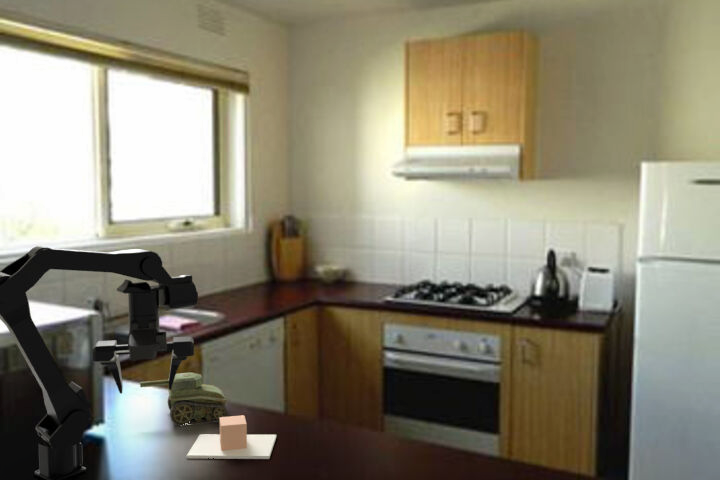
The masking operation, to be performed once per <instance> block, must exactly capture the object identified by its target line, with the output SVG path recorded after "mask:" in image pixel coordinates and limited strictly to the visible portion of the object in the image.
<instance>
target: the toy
mask: <svg viewBox="0 0 720 480" xmlns="http://www.w3.org/2000/svg"><path fill="white" fill-rule="evenodd" d="M159 386H169V377H168V379H158V380H148V381H140V383H139V387H140V388H148V387H149V388H150V387H159ZM167 389H168V398H167V407H168V410H169V415H170V419H171V421H172V423H173V424H174V425H176V426H179V427H181V426H180V425H183V424H184V425H185V423H188V424H194V425H200V423H203V424H211V423H210V422H212V423H220V419H219V417H229V416H228V415H229V411H228V409H227V407H226V403H227V398H226V397H225V395H224V393H223V390H222V389H221V388H219V387H217V386H216V385H212V384H208V383H207V384H205V383H203V377H202V374H200V373H195V372H192V371H191V372H181V373H176V375H175V378H174V381H173V385H172V388H171V390H169V387H168V388H167ZM202 418H203V419H202ZM193 419H194V420H193ZM189 421H190V423H189ZM186 426H188V425H187V424H186Z"/></svg>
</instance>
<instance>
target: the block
mask: <svg viewBox="0 0 720 480" xmlns="http://www.w3.org/2000/svg"><path fill="white" fill-rule="evenodd" d="M219 419H220V422H219V434H220V446H221V451H222V450H232V449H243V448H247V434H248V433H247V432H248V430H247V428H248V427H247V426H248V425H247V421H246V417H245V414H244V415H243V414H242V415H232V416H228V417H219Z"/></svg>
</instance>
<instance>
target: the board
mask: <svg viewBox="0 0 720 480" xmlns="http://www.w3.org/2000/svg"><path fill="white" fill-rule="evenodd" d="M276 439H277V434H248V433H247V448H243V449H232V450H222V451H221V446H220V433H219V434H215V433H213V434H211V433H207V434H206V433H205V434H203V433H202V434H201V433H200V434H199V435H198V437H197V438H196V440H195V441H194V443H193V445H192V446H191V448H190V450H189V451H188V452H187V454H186V459H208V458H209V460H210V459H213V458H214V459H220V460H221V459H226V460H227V459H228V460H229V459H230V460H231V459H232V460H233V459H237V460H241V459H242V460H252V459H253V460H270V458H271V454H272V452H273V448H274V447H275V442H276Z"/></svg>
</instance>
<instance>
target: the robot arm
mask: <svg viewBox="0 0 720 480" xmlns="http://www.w3.org/2000/svg"><path fill="white" fill-rule="evenodd" d="M50 270H58V271H59V270H60V271H61V270H62V271H77V272H79V271H80V272H81V271H82V272H93V273H94V272H95V273H113V274H116V275H117V274H118V275H121V276H125V277H129V278H134V279H138V280H142V281H141V282H140V281H139V282H133V281H131V280H130V279H124V281H123V282H122V283H121V284H120V285H119V286H118V287H117V288H116V291H117V292H119V293H121V294H127V299H128V307H127V308H128V334H127V344H118V342H117V340H115V339H114V340H99V341H97V342H96V343H95V344H94V347H93V348H92V362H95V363H97V362H100V363H99V364H100V365H101V366H105V367H107V368H108V370H109V372H110V373H111V375H112V377H113V379H114V381H115V384H116V387H117V390H118V392H119V394H120V395H121V394H123V390H124V389H123V379H122V377H123V376H122V368H121V362H120V355H121V356H122V355H129V359H130V361H138V360H147V359H148V360H155V358H157V353H169V352H171V360H170V369H169V375H168V376H169V377H168V378H169V385H168V388H169V390H171V388H172V385H173V381H174V378H175V375H176V374H177V371H178V369H179V367H180V365H181V364H182V363H181V362H182V361H187V360H188V357H192V356H193V357H194V355H195V341H194V338H193V337H192V336H190V335H189V336H173V341H167V337H168V336H167V331H161V330H160V307H162V308H163V309H164V310H165V311H174V310H175V311H176V310H181V309H182V310H183V309H190V308H194V307H196V305H197V303H198V300H199V299H198V298H199V293H198V291H197V290H198V289H197V286H196V284H195V283H194V281H193V275H191V274H190V275H189V274H182V275H181V274H180V275H178V276H177V275H176V276H171V275H170V274H169V273H168V271H167V270H166V268H165V267H164V266H163V261H162V258H161V257H160V255H159V254H158V253H157V252H155V251H152V250H146V249H142V248H132V249H121V250H117V251H107V252H106V251H95V250H81V249H67V248H57V247H56V248H51V247H48V246H47V247H46V246H43V245H36V246H35V247H32V248H31V249H30V250H29V251H27V252H26V253H25V254H24V255H22V256H20V257H18V258H17V259H16V260H14V261H12V262H11V263H9V264H8V265H6V266H4V267H3V268H2V269H1V270H0V321H1V322H2V323H3V324H4V325H5V326H6V328H7V329H8V331H9V333H10V335H11V337H12V338H13V340H14V342H15V344H16V345H17V347H18V349H19V351H20V353H21V354H22V357H23V358H24V360H25V361H26V363H27V365H28V367H29V368H30V370H31V372H32V375H33V376H34V377H35V380H36V381H37V383H38V385H39V387H40V388H41V391H42V395H43V402H44V406H45V409H46V412H47V413H46V414H45V415H44V417H42V419H41V420H40V421H39V422H38V423H37V424H36V426H35V430H36V432H37V435H38V436H39V437H40V438H42V441H40V442H38V463H39V464H38V466H39V467H38V468H39V469H37V470H35V471H34V475H36V476H38V477H40V478H42V479H44V480H65V479H67V478H70V477H74V476H75V475H78V474H81V473H83V472H85V471H86V470H87V468H86V467H85V466H83V463H84V462H83V443H81V441H82V439H83V435H84V432H85V430H86V429H87V427H88V426H89V425H90V423H91V420H92V418H93V414H92V411H91V408H93V407H94V406H93V405H92V404H91V403H90V402H89V400H88V399H87V396H86V393H85V390H84V389H83V388H82V387H81V386H79V384H77V383H75V382H73V381H70V383H67V381H66V379H65V378H64V375H63V374H62V372H61V370H60V369H59V367H58V364H57V363H56V361H55V359H54V358H53V357H54V356H52V354H51V352H50V350H49V348H48V346H47V345H46V342H45V341H44V339H43V337H42V335H41V333H40V332H39V330H38V327H37V326H36V324H35V322H34V321H33V318H32V316H31V309H30V303H29V299H28V296H27V292H28V291H29V290H31V289H32V288H33V287H34V286H36V285H37V284H38V281H40V280H41V278H42V277H44V275H45V274H46V273H48V272H49V271H50ZM148 281H149V282H153V283H157V284H156V285H150V284H149V282H148Z"/></svg>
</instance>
